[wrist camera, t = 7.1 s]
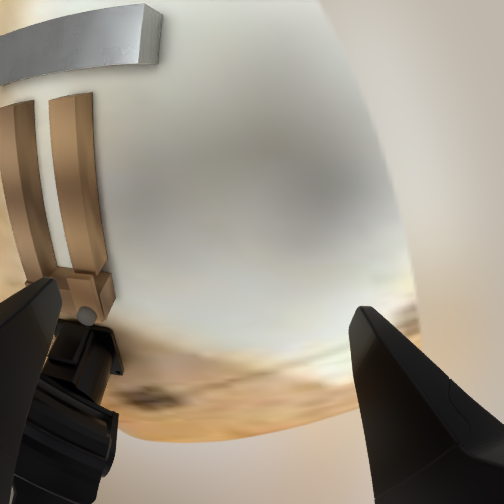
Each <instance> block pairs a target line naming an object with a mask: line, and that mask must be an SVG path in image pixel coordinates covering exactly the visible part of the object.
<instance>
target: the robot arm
mask: <svg viewBox="0 0 504 504" xmlns="http://www.w3.org/2000/svg"><path fill="white" fill-rule="evenodd" d="M61 308H62V297H61V293H60V290H59V287H58V284H57V281H56V279H54V278H51V277H42V278H40V279H39V280H37V281H35V282H34V283H32V284H30V285H29V286H27V287H25V288H24V289H22V290H20V291H19V292H17V293H15V294H14V295H12V296H10V297H9V298H7V299H6V300H4V301H3V302H1V303H0V504H9V503H10V504H92V503H93V502H94V501H95V499H96V496H97V491H98V487H99V483H100V480H101V477H105V476H106V475H107V474H108V472H109V470H110V468H111V466H112V463H113V460H114V457H115V451H116V440H117V428H118V417H119V414H118V413H116V412H114V411H110V410H108V409H106V408H104V407H102V406H100V404H101V401H102V397H103V394H104V391H105V388H106V385H107V381H108V378H109V375H110V374H115V375H123V373H124V369H123V366H122V363H121V359H120V356H119V353H118V349H117V346H116V342H115V339H114V335H113V332H112V331H111V330H110V329H107V328H101V327H95V326H86V325H84V324H78V323H73V322H68V321H63V320H58V318H59V314H60V311H61ZM54 334H55V337H56V339H55V341H54V343H53V345H52V347H51V349H50V351H49V348H50V345H51V342H52V338H53V335H54ZM349 341H350V350H351V360H352V370H353V378H354V383H355V388H356V393H357V398H358V403H359V408H360V413H361V418H362V423H363V428H364V434H365V440H366V446H367V452H368V458H369V464H370V471H371V476H372V484H373V492H374V498H375V504H504V424H502V423H501V422H500V421H499V420H498V419H496V418H495V417H494V416H493V415H491V414H490V413H489V412H488V411H487V410H485V409H484V408H483V407H482V406H480V405H479V404H478V403H477V402H476V401H474V400H473V399H472V398H471V397H470V396H469V395H468V394H467V393H465V392H464V391H463V390H462V389H461V388H460V387H459V386H458V385H457V384H456V383H454V382H453V381H452V379H449V377H448V376H447V375H446V374H445V373H444V372H443V371H442V370H441V369H440V368H439V367H438V366H437V365H436V364H434V363H433V362H432V361H431V360H430V359H429V358H428V357H427V356H426V355H425V354H424V353H423V352H422V351H421V350H419V349H418V348H417V347H416V346H415V345H414V344H413V343H412V342H411V341H410V340H409V339H407V338H406V337H405V336H404V335H403V334H402V333H401V332H400V331H399V330H398V329H396V328H395V327H394V326H393V325H392V324H391V323H390V322H389V321H388V320H386V319H385V318H384V317H383V316H382V315H381V314H380V313H379V312H377V311H376V310H375V309H374V308H373V307H371V306H359V307H358V308H357V309H356V311H355V314H354V316H353V318H352V321H351V323H350V326H349ZM48 351H49V353H48ZM47 354H48V355H47ZM46 357H48V358H47V360H46ZM45 360H46V362H45ZM44 362H45V364H44ZM43 365H44V366H43ZM12 487H13V493H12V497H11V500H10V495H11V488H12Z"/></svg>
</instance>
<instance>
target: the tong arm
mask: <svg viewBox="0 0 504 504" xmlns="http://www.w3.org/2000/svg"><path fill="white" fill-rule="evenodd" d="M49 120H50V135H51V147H52V157H53V166H54V174H55V181H56V188H57V194H58V200H59V206H60V212H61V217H62V222H63V227H64V232H65V237H66V241H67V246H68V250H69V254H70V258H71V262H72V266H73V270H74V273H69V275H68V276H67V278H66V279H67V282H68V285H69V289H70V292H71V295H72V298H73V301H74V304H75V307H76V310H77V315H76V316H77V319H78V320H79V321H80V322H81V323H82V324H84V325H86V326H92V325H93V324H94V323H101V324H102V321H103V319H104V316H103V312H102V309H101V305H100V301H99V298H98V294H97V290H96V286H95V282H94V278H93V276H96V277H97V276H98V274H99V272H100V271H101V269H102V267H103V266H104V264H105V262H106V261H107V254H106V248H105V242H104V236H103V230H102V223H101V216H100V208H99V200H98V192H97V182H96V172H95V160H94V145H93V124H92V93H83V94H75V95H68V96H64V97H60V98H56V99H52V100H49Z"/></svg>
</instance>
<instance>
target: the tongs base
mask: <svg viewBox="0 0 504 504" xmlns="http://www.w3.org/2000/svg"><path fill="white" fill-rule="evenodd" d="M0 171H1V177H2V183H3V189H4V194H5V199H6V204H7V209H8V213H9V218H10V222H11V226H12V230H13V234H14V238H15V242H16V245H17V249H18V252H19V256H20V259H21V262H22V266H23V269H24V272H25V275H26V278H27V281H26V282H25V285H26V287H27V286H29V285H30V284H32V283H34V282H35V281H37V280H39V279H40V278H42V277H51V278H54V279H56V281H57V284H58V287H59V290H60V293H61V297H62V308H61V311H60V312H62V313H68V314H73V315H77V310H76V307H75V304H74V301H73V298H72V295H71V292H70V289H69V285H68V282H67V279H66V278H67V276H68V275H69V273H74V270H73V269H72V268H64V267H57V264H56V260H55V256H54V252H53V248H52V243H51V239H50V234H49V230H48V225H47V220H46V215H45V209H44V203H43V197H42V191H41V184H40V177H39V169H38V160H37V151H36V139H35V123H34V100H31V101H25V102H20V103H15V104H12V105H8V106H5V107H2V108H0ZM93 278H94V282H95V286H96V290H97V294H98V298H99V301H100V305H101V309H102V312H103V316H104V319H103V320H106V318H107V316H108V314H109V312H110V309H111V307H112V305H113V303H114V301H115V298H116V297H115V292H114V287H113V281H112V276H111V273H105V272H99V274H98V276H97V277H96V276H93Z"/></svg>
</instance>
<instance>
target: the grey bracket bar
mask: <svg viewBox="0 0 504 504" xmlns="http://www.w3.org/2000/svg"><path fill="white" fill-rule="evenodd" d="M162 17H163V15H162V14H161V13H159V12H158V11H156V10H154V9H153V8H151V7H149V6H148V5H146V4H135V5H126V6H118V7H111V8H104V9H98V10H93V11H87V12H82V13H78V14H73V15H68V16H64V17H60V18H56V19H52V20H48V21H45V22H41V23H38V24H34V25H31V26H28V27H25V28H22V29H19V30H16V31H13V32H10V33H7V34H5V35H2V36H0V86H2V85H6V84H9V83H10V82H14V81H18V80H23V79H27V78H31V77H36V76H41V75H46V74H52V73H57V72H63V71H70V70H77V69H84V68H92V67H101V66H112V65H124V64H140V65H147V64H158V55H159V44H160V35H161V26H162Z"/></svg>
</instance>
